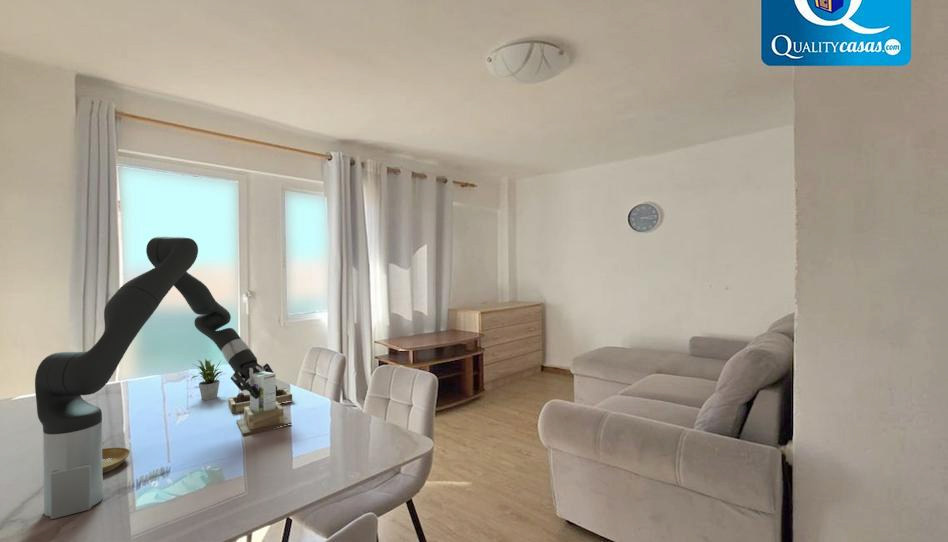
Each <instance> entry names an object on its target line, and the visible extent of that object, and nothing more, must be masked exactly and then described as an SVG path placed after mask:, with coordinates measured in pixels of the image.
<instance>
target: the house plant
mask: <svg viewBox="0 0 948 542" xmlns="http://www.w3.org/2000/svg"><path fill="white" fill-rule="evenodd" d="M204 360H205V361H204V363H203V362H202V361H201V360H200V359H197V361H198V363H199V364H200V366H199V365H197V364H194V363H193V367H195V368H196V369H197V370H198V374H199V375H200V377H201V378H202V381H200V382H199V383H198V387H199V393H200V397H201V400H202V401H203V400H204V401H206V400H207V401H208V400H213V399H216V398H218V394H219V388H220V387H219V386H220V383H221V382H220V380H219V379H218V378H219V377H220V376H223V375H226V373H224V372H223V373H222V371H219V370H221V368H219V365H220V364H221V362H222V360H220V361H219V362H218V363H217V366H216V367H215V365H216V364H211V361H212V360H207V358H205V359H204ZM226 362H227V361H224V363H226ZM221 373H222V374H221ZM219 374H220V375H219ZM189 375H192V377H191V379H190V380H193V379H195V378H196V377H197V375H195V374H192V373H190V374H188V376H189ZM201 378H199V377H198V379H200V380H201Z"/></svg>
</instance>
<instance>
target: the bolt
mask: <svg viewBox="0 0 948 542" xmlns="http://www.w3.org/2000/svg"><path fill="white" fill-rule="evenodd" d="M282 395H283V393H282V390H279V389H277V390H276V396H282ZM236 397H237V403H242V402H247V401H250V395H249V394H245V393H243V392H238V394H237V395H236Z"/></svg>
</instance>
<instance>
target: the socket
mask: <svg viewBox="0 0 948 542" xmlns="http://www.w3.org/2000/svg"><path fill="white" fill-rule="evenodd" d="M292 423H293V422H291V420H290V419H289V418H288V416H286V415H285V413H284V408H283V407H282V404H281V405H280V404H279V403H278V402H277V401H276V409H274V410H269V411H264V412H258V413H252V412H251V410H250V406H247V407H244V411H243V418H240V419H236V424H237V426H238V429H239V431H240V432H241V434H242V436H243V437H244V436H248V435H253V434H254V435H255V434H258V433H262V432H268V431H271V429H273V430H275V429H274V428H277V427H280V426H284V425H288V424H292ZM277 429H278V428H277Z"/></svg>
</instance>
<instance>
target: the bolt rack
mask: <svg viewBox="0 0 948 542" xmlns="http://www.w3.org/2000/svg"><path fill="white" fill-rule="evenodd" d="M278 390H282V393H283V395H282V396H276V401H277V402H278V403H282V402H286V401H292V402H293V394H292V392H290V391H289V390H288V389H287V388H281V389H280V388H279V389H278ZM248 395H250V393H249V394H248ZM227 401H228V404H227V405H228V408H229V410H230V412H231V414H232V415H233V414H237V413H242V412H243V413H244V407H247V406H250V401H247V402H242V403H237V396H231V397H228V400H227Z"/></svg>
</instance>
